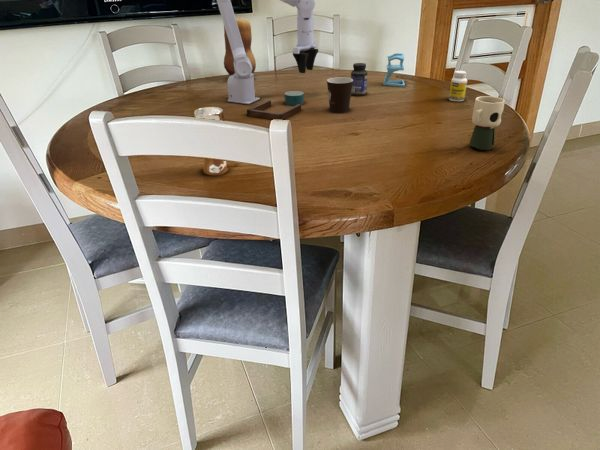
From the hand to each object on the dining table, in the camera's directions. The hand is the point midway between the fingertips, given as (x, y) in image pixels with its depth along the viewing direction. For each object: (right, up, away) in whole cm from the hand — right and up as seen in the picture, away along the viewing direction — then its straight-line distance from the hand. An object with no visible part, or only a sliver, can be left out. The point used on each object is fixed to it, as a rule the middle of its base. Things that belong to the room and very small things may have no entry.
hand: (306, 71), depth 168 cm
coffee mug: (+12, -16, -10) cm, 22 cm away
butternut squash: (-28, +7, +33) cm, 43 cm away
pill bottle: (+20, -7, +7) cm, 22 cm away
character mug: (+47, -36, -44) cm, 73 cm away
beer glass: (-23, -43, -54) cm, 73 cm away
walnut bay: (-11, -18, -12) cm, 24 cm away
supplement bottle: (+54, -11, -3) cm, 55 cm away
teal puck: (-4, -12, -2) cm, 13 cm away
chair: (+36, +1, +19) cm, 41 cm away
